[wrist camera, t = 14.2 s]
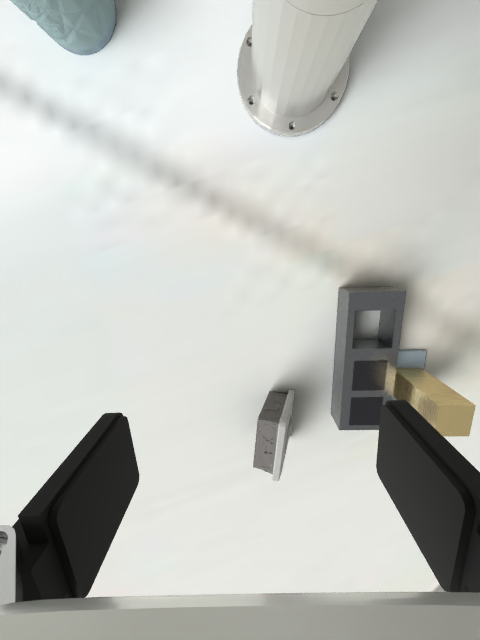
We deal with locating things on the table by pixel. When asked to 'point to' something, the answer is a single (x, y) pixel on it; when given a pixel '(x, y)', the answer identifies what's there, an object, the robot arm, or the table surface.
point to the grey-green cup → (73, 22)
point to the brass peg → (434, 401)
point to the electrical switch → (273, 433)
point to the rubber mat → (411, 359)
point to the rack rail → (365, 357)
